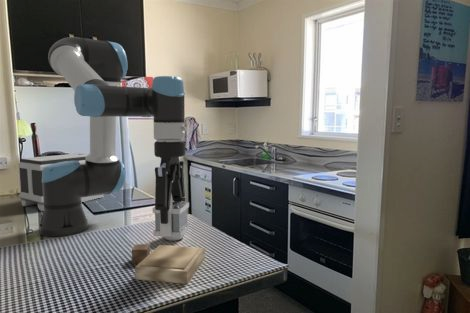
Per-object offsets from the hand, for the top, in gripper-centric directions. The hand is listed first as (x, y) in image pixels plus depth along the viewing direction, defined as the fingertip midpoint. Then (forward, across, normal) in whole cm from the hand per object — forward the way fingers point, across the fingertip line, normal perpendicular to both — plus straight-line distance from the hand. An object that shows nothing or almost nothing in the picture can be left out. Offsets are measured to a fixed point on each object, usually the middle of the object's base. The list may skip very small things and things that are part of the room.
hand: (171, 230), depth 89 cm
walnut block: (+10, +3, +10) cm, 15 cm away
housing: (0, 0, 0) cm, 0 cm away
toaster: (+10, +61, +74) cm, 96 cm away
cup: (+10, +23, +8) cm, 27 cm away
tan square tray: (+10, 0, 0) cm, 10 cm away
